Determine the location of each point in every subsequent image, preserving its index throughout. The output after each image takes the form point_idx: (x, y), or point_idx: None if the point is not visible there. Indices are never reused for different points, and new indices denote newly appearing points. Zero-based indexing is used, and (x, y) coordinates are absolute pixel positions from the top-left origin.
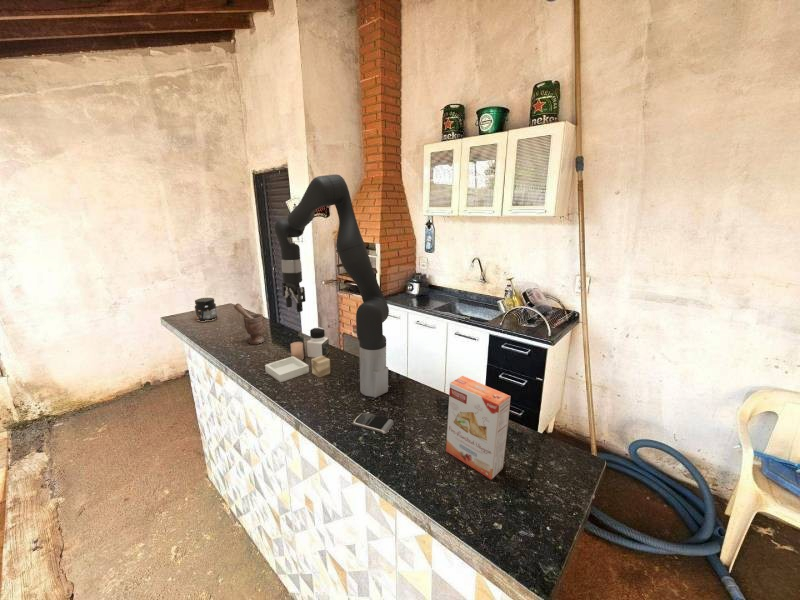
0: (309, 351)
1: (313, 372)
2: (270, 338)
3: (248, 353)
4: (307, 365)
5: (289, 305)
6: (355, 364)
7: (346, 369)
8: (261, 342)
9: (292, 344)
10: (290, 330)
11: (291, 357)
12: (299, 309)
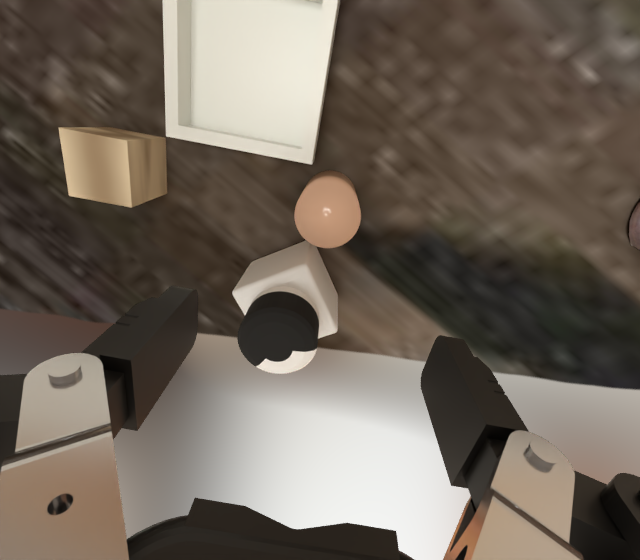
0: (298, 250)
1: (151, 136)
2: (626, 282)
3: (609, 90)
4: (167, 131)
5: (435, 371)
6: (120, 292)
7: (105, 244)
8: (633, 219)
9: (340, 197)
10: (594, 383)
11: (305, 147)
12: (134, 309)
